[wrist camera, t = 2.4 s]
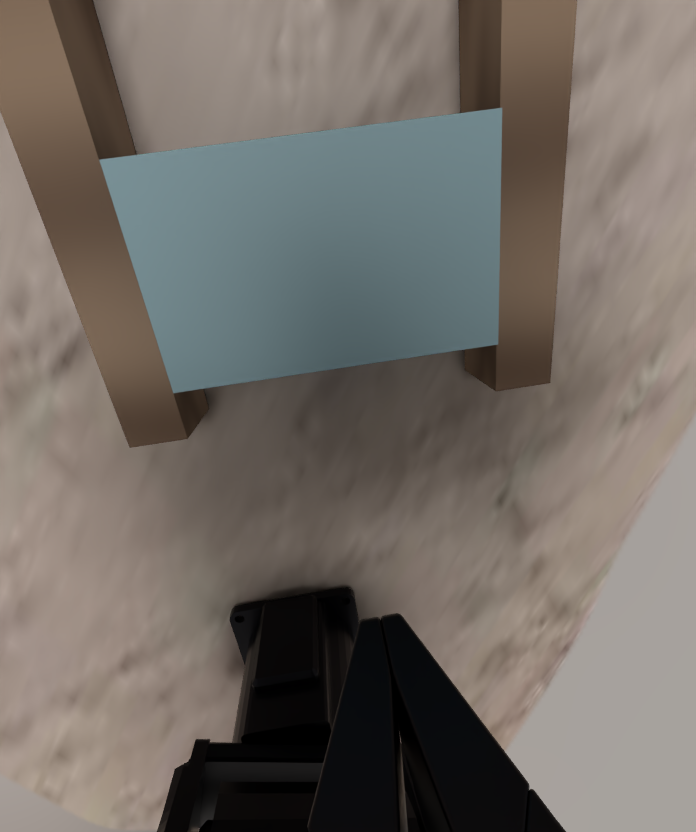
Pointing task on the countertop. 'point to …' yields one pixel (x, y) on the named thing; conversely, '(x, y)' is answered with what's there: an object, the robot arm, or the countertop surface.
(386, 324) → the slate-blue block
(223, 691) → the countertop surface
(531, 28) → the walnut chute
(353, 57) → the countertop surface
